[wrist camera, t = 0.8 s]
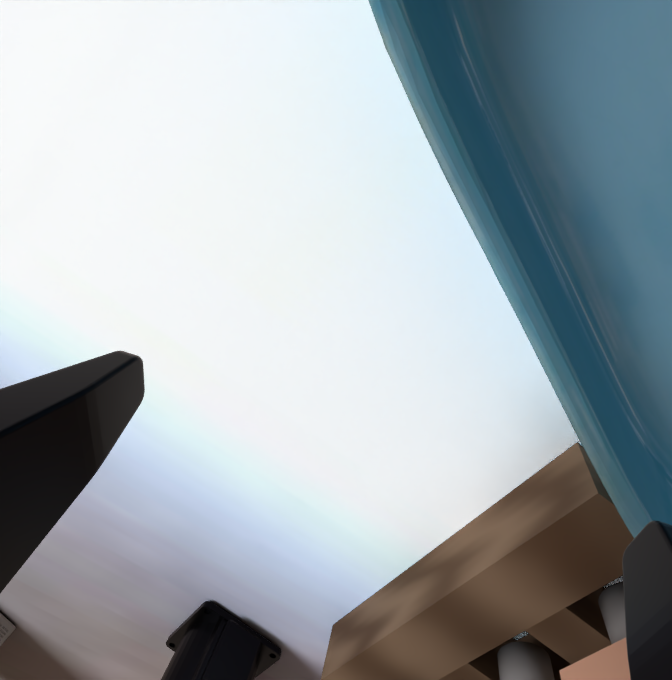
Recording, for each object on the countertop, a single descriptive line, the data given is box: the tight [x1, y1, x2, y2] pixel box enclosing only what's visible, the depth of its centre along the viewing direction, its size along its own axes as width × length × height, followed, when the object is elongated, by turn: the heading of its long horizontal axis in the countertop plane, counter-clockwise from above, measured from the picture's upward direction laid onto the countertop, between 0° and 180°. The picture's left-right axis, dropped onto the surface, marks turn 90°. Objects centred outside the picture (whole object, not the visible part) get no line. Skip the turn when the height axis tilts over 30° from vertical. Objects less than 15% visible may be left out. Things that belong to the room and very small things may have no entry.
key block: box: [321, 443, 634, 680], centre depth 26 cm, size 20×12×4 cm, turn 144°
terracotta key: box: [559, 582, 631, 680], centre depth 20 cm, size 5×5×6 cm
